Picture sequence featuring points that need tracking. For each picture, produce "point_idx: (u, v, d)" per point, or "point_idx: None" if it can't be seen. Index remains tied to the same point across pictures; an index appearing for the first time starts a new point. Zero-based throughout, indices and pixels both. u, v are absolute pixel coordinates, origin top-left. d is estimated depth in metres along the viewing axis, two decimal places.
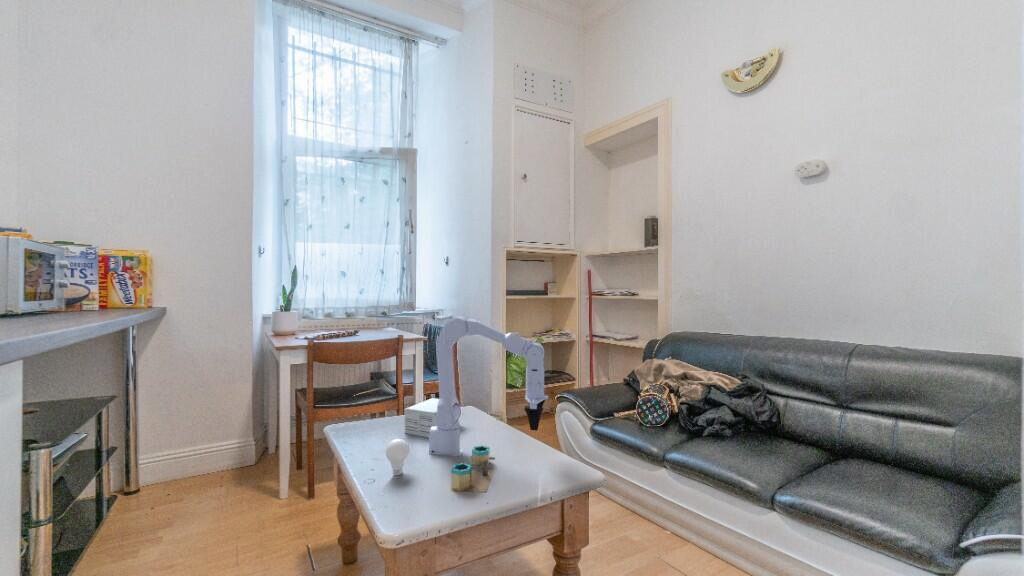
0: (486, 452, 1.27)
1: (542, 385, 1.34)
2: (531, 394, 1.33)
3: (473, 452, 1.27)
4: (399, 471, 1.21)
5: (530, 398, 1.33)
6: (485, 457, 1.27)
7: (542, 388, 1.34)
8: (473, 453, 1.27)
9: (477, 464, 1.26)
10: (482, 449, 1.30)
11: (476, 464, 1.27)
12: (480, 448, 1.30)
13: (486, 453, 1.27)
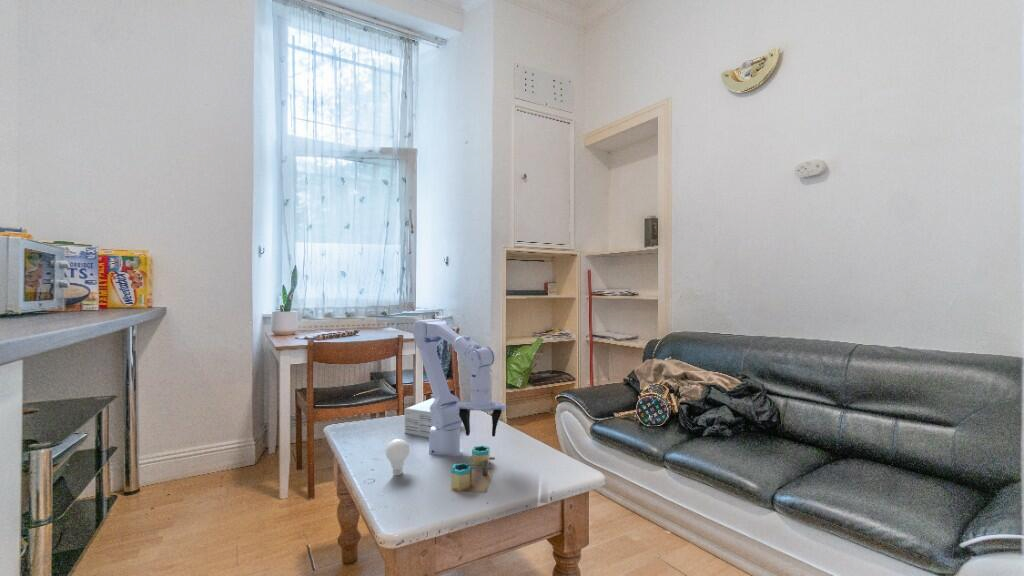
0: (486, 452, 1.27)
1: (474, 392, 1.26)
2: None
3: (473, 452, 1.27)
4: (399, 471, 1.21)
5: None
6: (485, 457, 1.27)
7: (474, 396, 1.26)
8: (473, 453, 1.27)
9: (477, 464, 1.26)
10: (482, 449, 1.30)
11: (476, 464, 1.27)
12: (480, 448, 1.30)
13: (486, 453, 1.27)
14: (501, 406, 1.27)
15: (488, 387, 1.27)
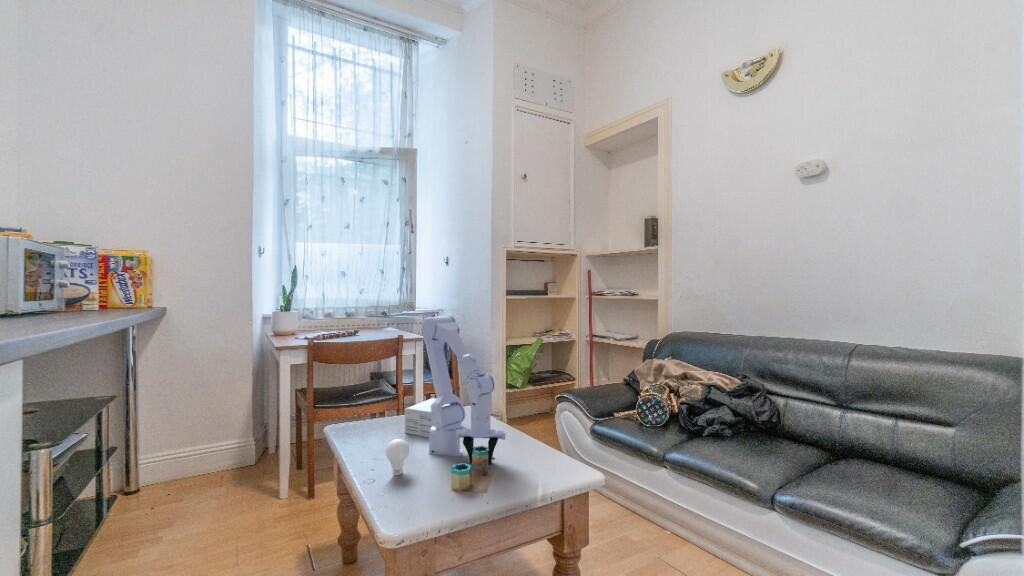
0: (486, 452, 1.27)
1: (474, 421, 1.26)
2: None
3: (473, 452, 1.27)
4: (399, 471, 1.21)
5: None
6: (485, 457, 1.27)
7: (474, 424, 1.26)
8: (473, 453, 1.27)
9: (477, 464, 1.26)
10: (482, 449, 1.30)
11: (476, 464, 1.27)
12: (480, 448, 1.30)
13: (486, 453, 1.27)
14: (501, 434, 1.27)
15: (488, 415, 1.27)
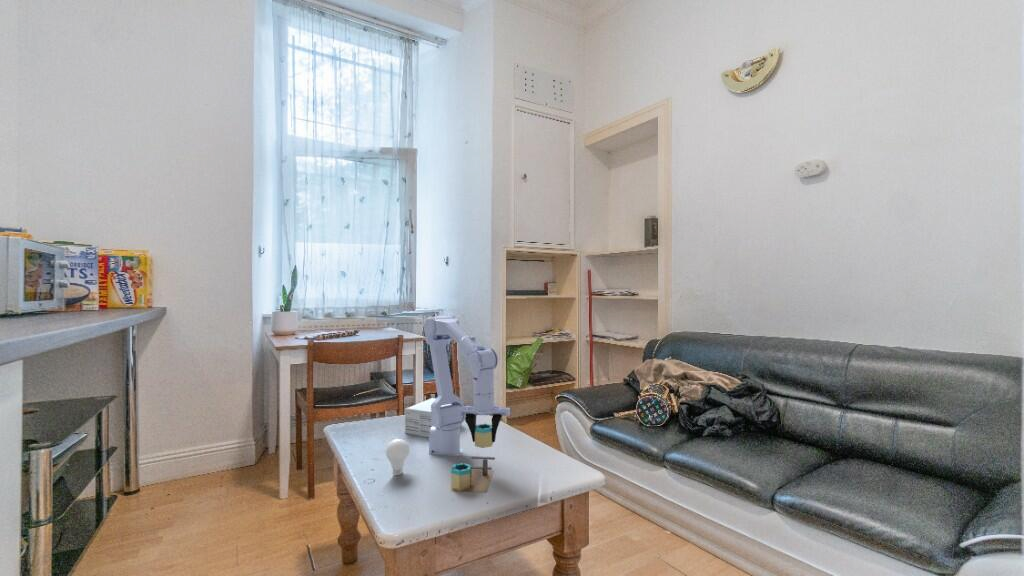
0: (489, 429, 1.21)
1: (477, 396, 1.21)
2: None
3: (476, 430, 1.22)
4: (399, 471, 1.21)
5: None
6: (488, 435, 1.21)
7: (477, 400, 1.21)
8: (476, 431, 1.22)
9: (480, 442, 1.21)
10: (485, 427, 1.25)
11: (479, 442, 1.21)
12: (483, 426, 1.25)
13: (489, 430, 1.21)
14: (505, 410, 1.21)
15: (490, 391, 1.21)
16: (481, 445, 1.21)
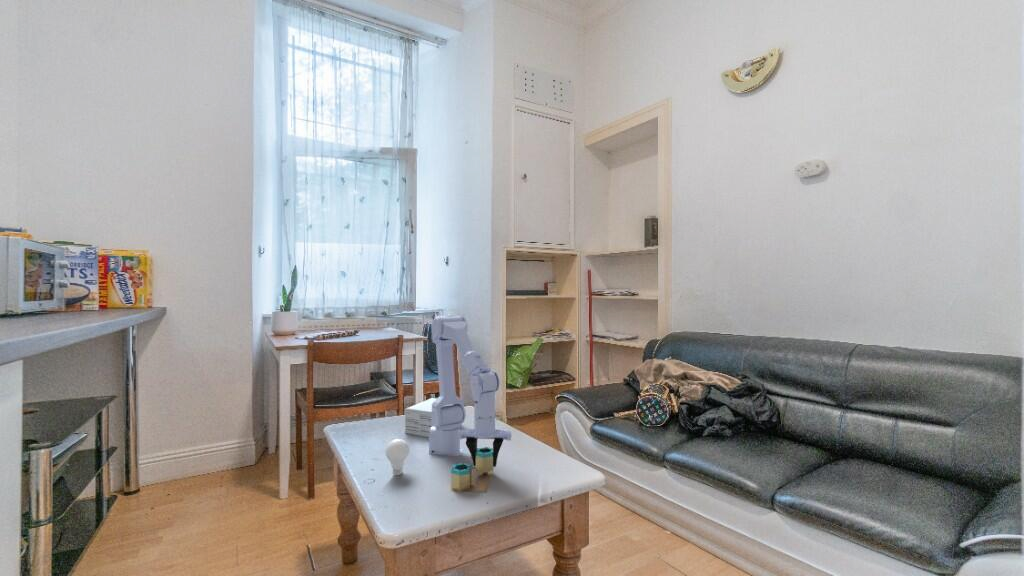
0: (491, 454, 1.19)
1: (478, 420, 1.18)
2: None
3: (477, 454, 1.19)
4: (399, 471, 1.21)
5: None
6: (490, 459, 1.19)
7: (478, 424, 1.18)
8: (477, 455, 1.19)
9: (481, 467, 1.18)
10: (486, 451, 1.22)
11: (480, 467, 1.19)
12: (484, 449, 1.22)
13: (491, 455, 1.19)
14: (507, 434, 1.19)
15: (491, 415, 1.19)
16: (482, 470, 1.18)
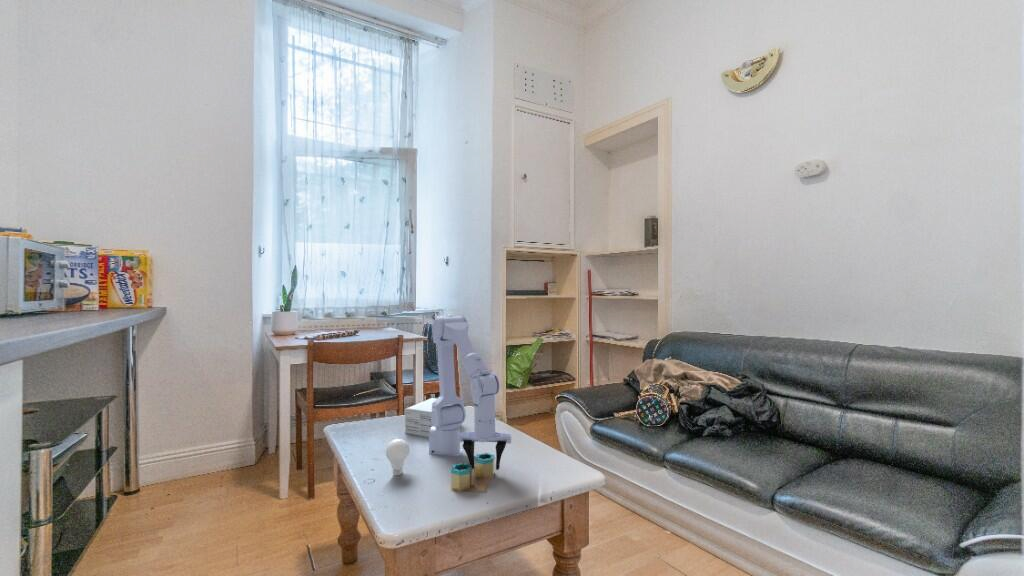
0: (490, 460, 1.19)
1: (478, 423, 1.18)
2: None
3: (477, 460, 1.19)
4: (399, 471, 1.21)
5: None
6: (489, 465, 1.19)
7: (478, 427, 1.18)
8: (477, 461, 1.19)
9: (481, 473, 1.18)
10: (486, 457, 1.22)
11: (480, 473, 1.19)
12: (484, 456, 1.22)
13: (490, 461, 1.19)
14: (507, 437, 1.19)
15: (491, 418, 1.19)
16: (482, 476, 1.18)
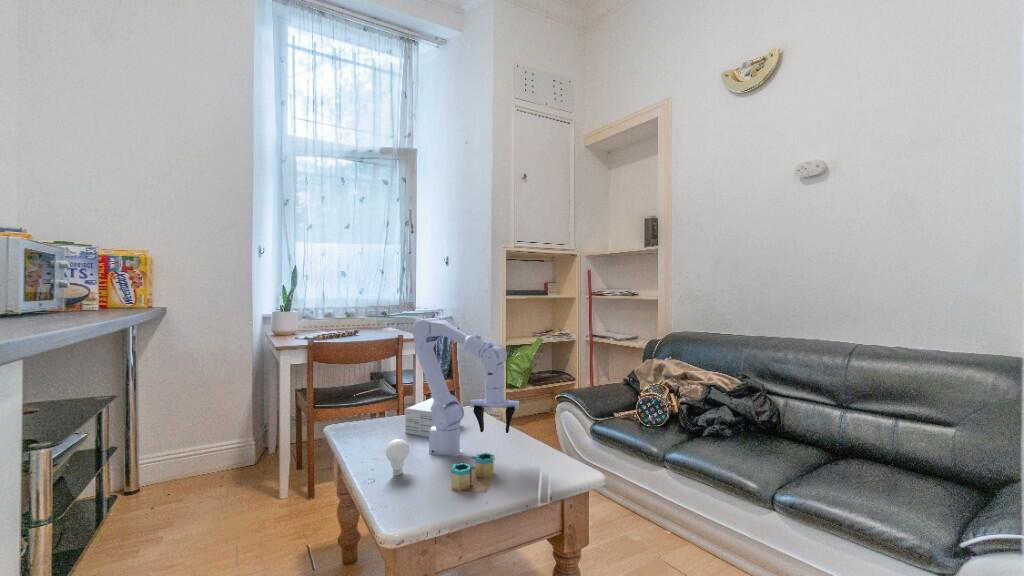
0: (490, 460, 1.19)
1: (488, 390, 1.29)
2: None
3: (477, 460, 1.19)
4: (399, 471, 1.21)
5: None
6: (489, 465, 1.19)
7: (488, 393, 1.29)
8: (477, 461, 1.19)
9: (481, 473, 1.18)
10: (486, 457, 1.22)
11: (480, 473, 1.19)
12: (484, 456, 1.22)
13: (490, 461, 1.19)
14: (515, 403, 1.29)
15: (503, 384, 1.30)
16: (482, 476, 1.18)
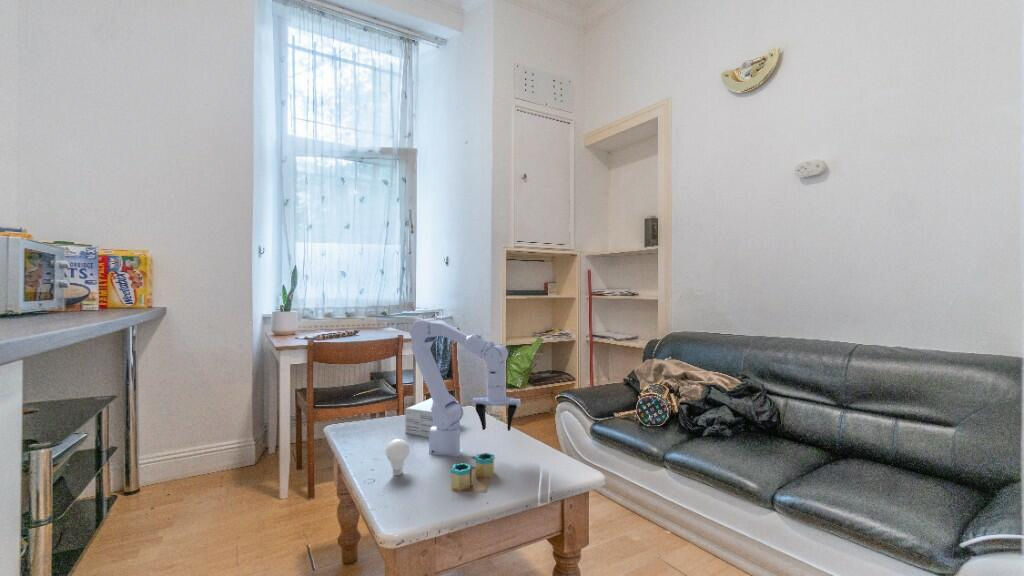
0: (490, 460, 1.19)
1: (490, 388, 1.31)
2: None
3: (477, 460, 1.19)
4: (399, 471, 1.21)
5: None
6: (489, 465, 1.19)
7: (490, 391, 1.31)
8: (477, 461, 1.19)
9: (481, 473, 1.18)
10: (486, 457, 1.22)
11: (480, 473, 1.19)
12: (484, 456, 1.22)
13: (490, 461, 1.19)
14: (516, 401, 1.32)
15: (505, 382, 1.33)
16: (482, 476, 1.18)
